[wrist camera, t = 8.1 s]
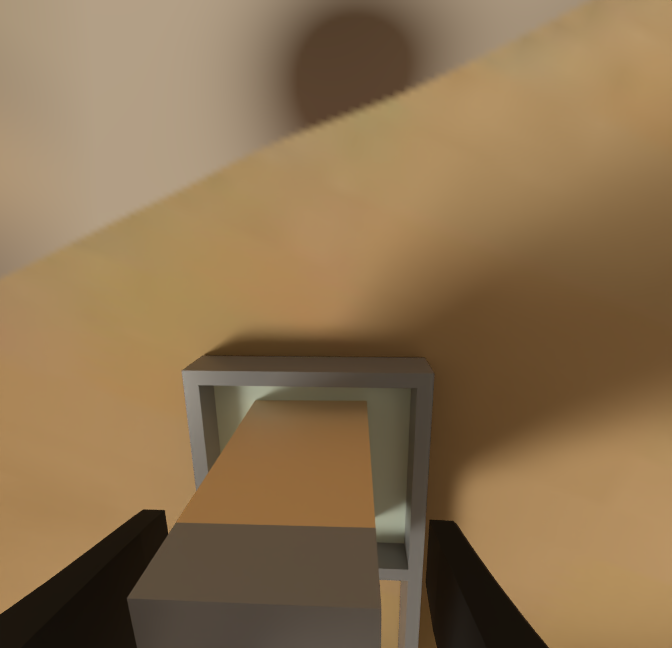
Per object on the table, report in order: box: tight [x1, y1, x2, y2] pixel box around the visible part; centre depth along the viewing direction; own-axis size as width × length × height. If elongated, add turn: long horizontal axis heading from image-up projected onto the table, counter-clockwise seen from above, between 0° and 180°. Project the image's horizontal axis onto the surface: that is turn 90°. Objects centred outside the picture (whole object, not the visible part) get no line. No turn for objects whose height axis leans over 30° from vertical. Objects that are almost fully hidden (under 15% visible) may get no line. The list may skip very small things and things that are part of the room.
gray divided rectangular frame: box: [182, 356, 434, 648], centre depth 13 cm, size 16×8×2 cm, turn 0°
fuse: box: [127, 400, 381, 648], centre depth 9 cm, size 5×4×7 cm
